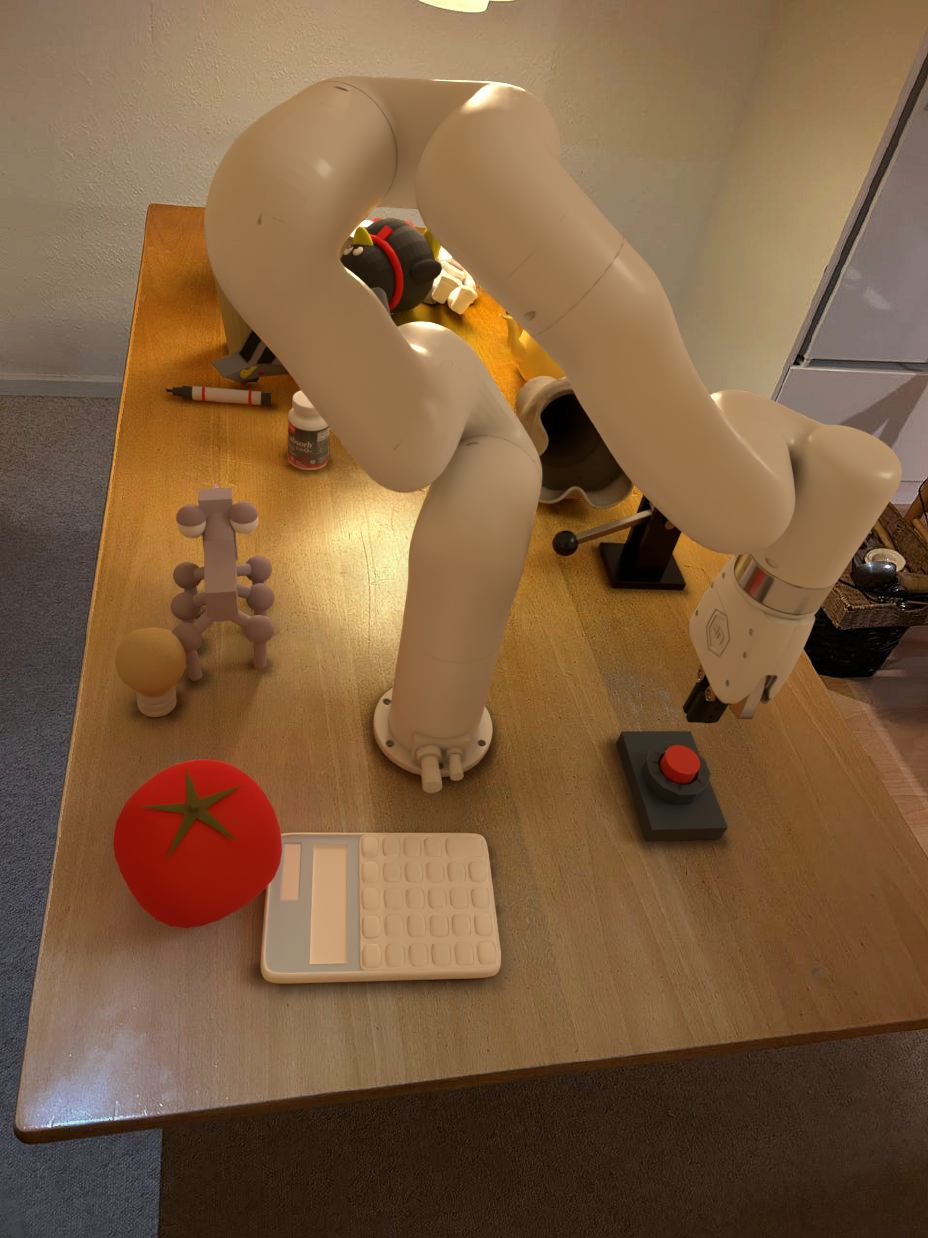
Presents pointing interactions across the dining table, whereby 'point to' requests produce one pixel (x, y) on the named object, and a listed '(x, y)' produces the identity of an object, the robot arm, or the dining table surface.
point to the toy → (395, 261)
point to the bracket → (645, 555)
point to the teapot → (529, 354)
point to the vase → (569, 446)
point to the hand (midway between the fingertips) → (699, 715)
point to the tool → (250, 362)
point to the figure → (453, 284)
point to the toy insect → (220, 576)
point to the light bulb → (151, 668)
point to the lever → (596, 532)
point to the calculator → (380, 909)
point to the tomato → (197, 843)
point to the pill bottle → (307, 435)
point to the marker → (222, 395)
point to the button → (680, 764)
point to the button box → (668, 789)
